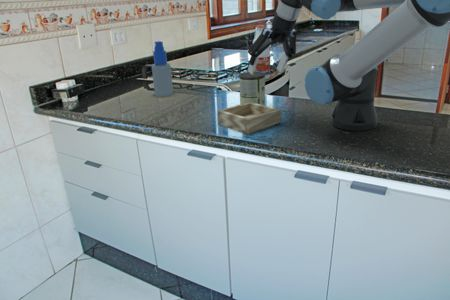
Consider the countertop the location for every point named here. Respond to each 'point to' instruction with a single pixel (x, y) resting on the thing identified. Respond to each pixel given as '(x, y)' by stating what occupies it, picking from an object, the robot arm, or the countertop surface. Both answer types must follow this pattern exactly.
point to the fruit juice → (263, 56)
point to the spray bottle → (161, 72)
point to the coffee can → (252, 88)
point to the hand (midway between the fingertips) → (265, 71)
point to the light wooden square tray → (249, 117)
